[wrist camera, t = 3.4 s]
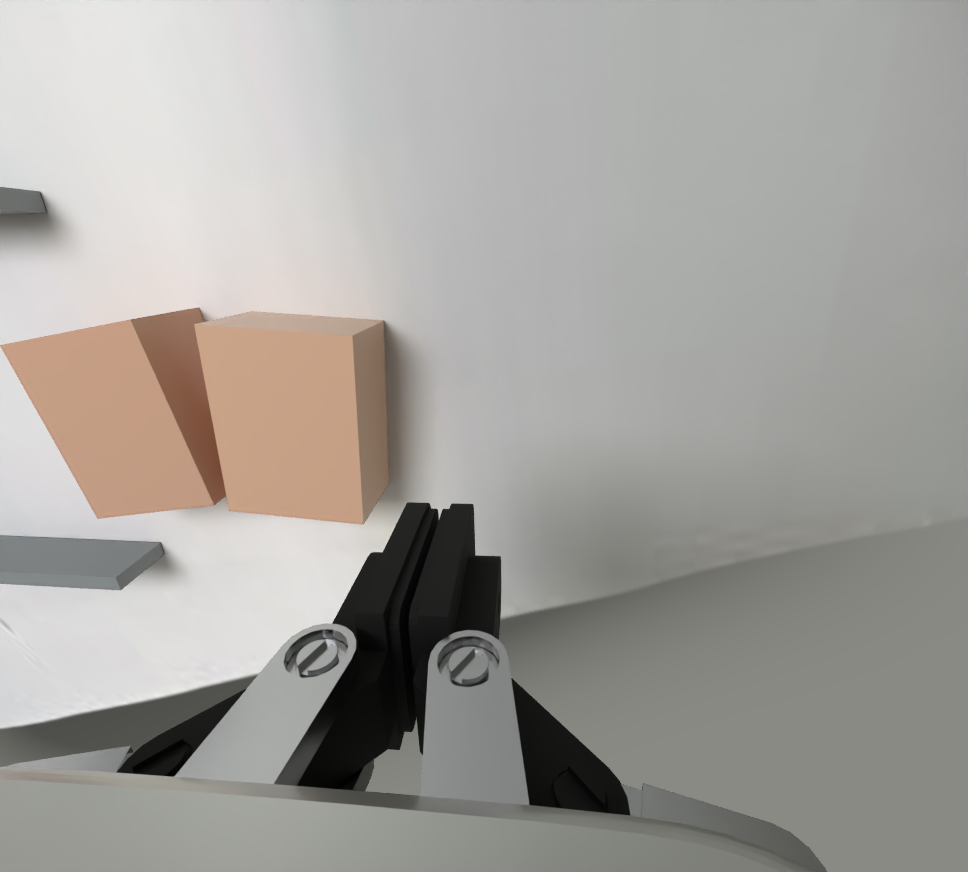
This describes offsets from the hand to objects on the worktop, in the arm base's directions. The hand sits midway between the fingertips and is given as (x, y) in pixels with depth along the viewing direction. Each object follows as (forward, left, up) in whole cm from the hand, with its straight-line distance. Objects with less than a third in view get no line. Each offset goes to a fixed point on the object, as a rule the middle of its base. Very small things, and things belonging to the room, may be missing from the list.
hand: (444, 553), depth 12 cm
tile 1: (+15, -1, -11) cm, 18 cm away
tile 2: (+8, -1, -11) cm, 13 cm away
